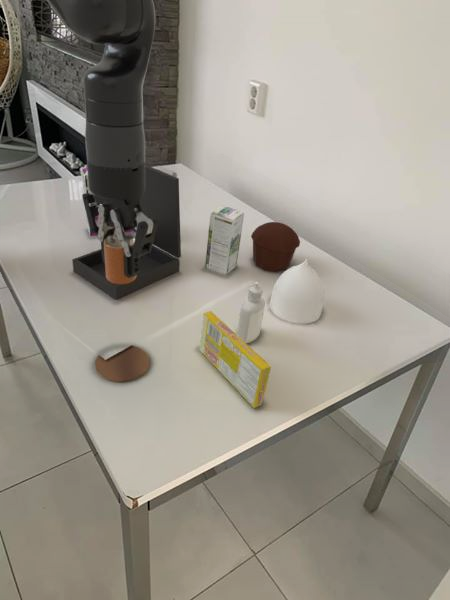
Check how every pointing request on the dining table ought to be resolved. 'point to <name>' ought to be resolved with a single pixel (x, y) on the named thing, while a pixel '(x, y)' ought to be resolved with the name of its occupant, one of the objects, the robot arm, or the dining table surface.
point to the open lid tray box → (151, 271)
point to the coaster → (123, 365)
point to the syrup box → (224, 239)
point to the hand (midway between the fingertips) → (120, 268)
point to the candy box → (234, 359)
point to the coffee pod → (115, 260)
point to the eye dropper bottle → (251, 315)
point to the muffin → (274, 246)
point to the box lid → (163, 207)
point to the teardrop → (298, 295)
